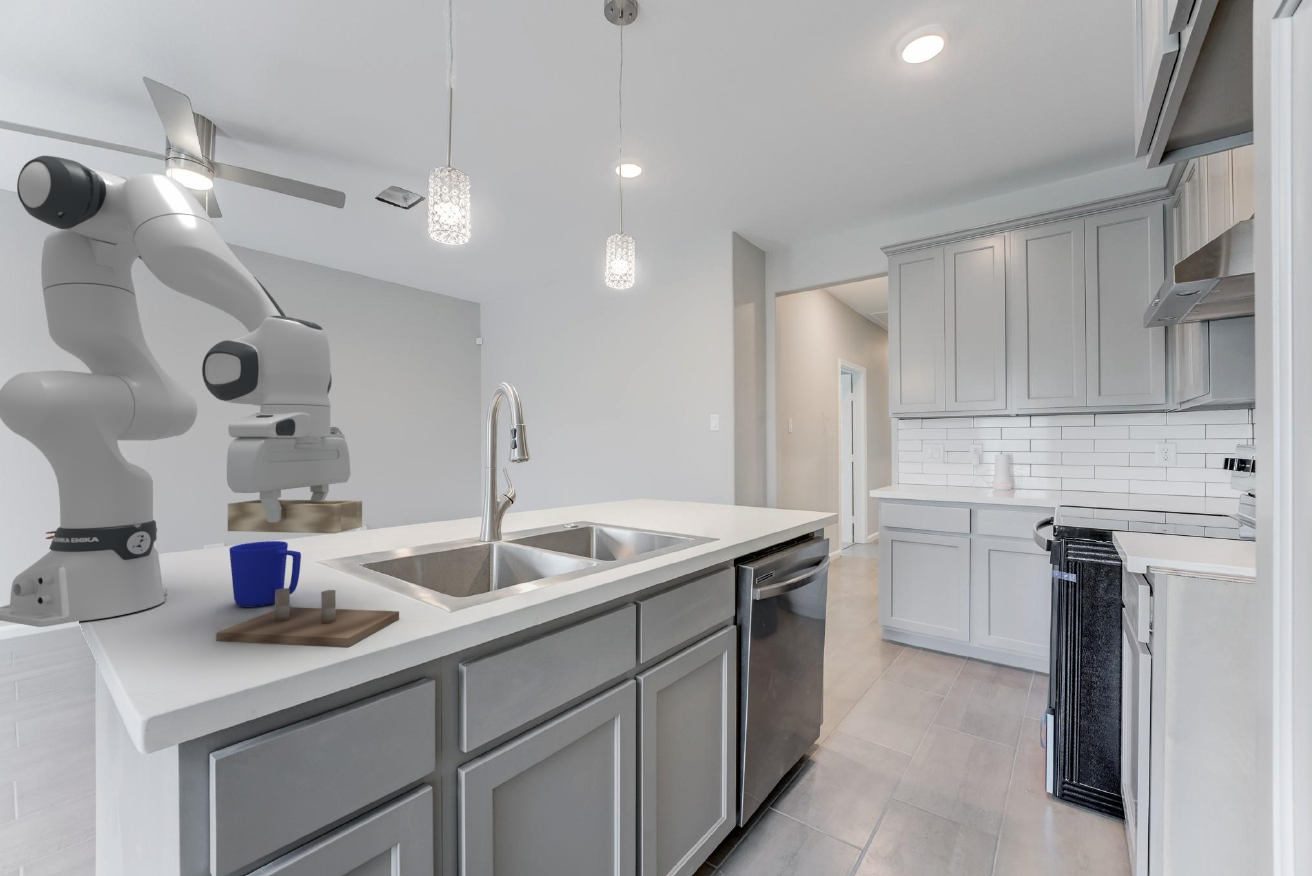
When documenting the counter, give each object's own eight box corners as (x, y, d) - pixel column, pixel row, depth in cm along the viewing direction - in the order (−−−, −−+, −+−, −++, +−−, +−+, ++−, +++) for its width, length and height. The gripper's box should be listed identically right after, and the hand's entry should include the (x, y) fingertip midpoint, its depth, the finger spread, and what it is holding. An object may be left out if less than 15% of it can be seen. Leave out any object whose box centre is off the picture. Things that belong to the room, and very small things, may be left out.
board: (216, 640, 79) (216, 600, 79) (283, 614, 90) (283, 579, 90) (348, 647, 76) (348, 605, 76) (399, 619, 88) (399, 582, 88)
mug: (277, 613, 91) (277, 551, 91) (216, 608, 93) (216, 549, 93) (317, 599, 99) (317, 542, 99) (260, 595, 101) (260, 540, 101)
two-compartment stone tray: (227, 531, 82) (227, 503, 82) (261, 524, 88) (261, 499, 88) (335, 533, 80) (335, 505, 80) (362, 527, 86) (362, 500, 86)
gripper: (325, 427, 94) (325, 509, 94) (217, 423, 74) (216, 528, 74) (360, 427, 94) (360, 509, 94) (260, 423, 73) (260, 529, 73)
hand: (296, 518), depth 84 cm, fingers closed on two-compartment stone tray, 6 cm apart
